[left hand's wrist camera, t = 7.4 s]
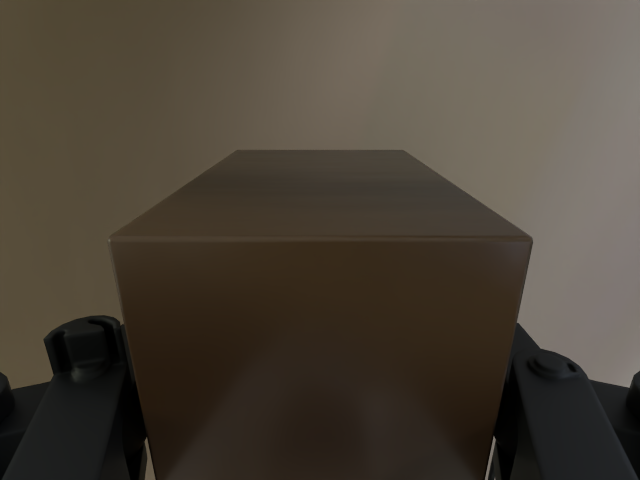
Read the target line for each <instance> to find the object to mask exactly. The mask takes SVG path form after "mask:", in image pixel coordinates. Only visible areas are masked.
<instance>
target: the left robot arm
mask: <svg viewBox="0 0 640 480" xmlns="http://www.w3.org/2000/svg"><path fill="white" fill-rule="evenodd" d="M44 343H45V346H46V350H47V353H48V357H49V360H50V363H51V367H52V370H53V374H54V376H53V378H52V380H51V381H50V382H46V383H42V384H37V385H32V386H27V387H22V388H17V389H12V390H11V387H10V384H9V381H8V379H7V377H6V376H5V375H4V374H2V373H1V372H0V480H145V472H146V464H147V453H146V447H145V442H144V441H145V439H146V437H147V434H146V429H145V424H144V419H143V414H142V409H141V404H140V399H139V395H138V390H137V385H136V380H135V375H134V370H133V365H132V360H131V355H130V350H129V345H128V340H127V335H126V330H125V325H124V324H122V325H121V326H120V322H119V321H118V320H117V319H115V318H114V317H110V316H104V315H102V316H89V317H84V318H80V319H76V320H73V321H70V322H68V323H65V324H63V325H61V326H59V327H58V328H56V329H54V330H53V331H51V332H50V333H49V334H48V335H47V336H46V337H45V338H44ZM494 437H495V439H496V442H495V447H494V452H493V456H492V461H491V466H490V471H489V476H488V480H494V478H495V479H496V480H640V371H639V372H638V373H636V374H635V375H634V377H633V380H632V383H631V385H630V388H627V387H622V386H617V385H612V384H607V383H603V382H598V381H593V380H590V379H588V377H587V375H586V374H585V372H584V371H583V370H582V369H581V367H580V366H579V365H577V364H576V363H574V362H573V361H572V360H570V359H569V358H567V357H564V356H562V355H560V354H558V353H555V352H552V351H548V350H544V349H540V348H539V346H538V345H537V344H536V343H535V342H534V341H533V339H532V338H531V337H530V336H529V335H528V334H527V332H526V331H525V330H524V329H523V328H522V327H521V326H520V324H519V323H516V328H515V333H514V338H513V343H512V348H511V353H510V358H509V362H508V367H507V372H506V377H505V382H504V387H503V392H502V397H501V402H500V407H499V412H498V417H497V422H496V426H495V431H494Z"/></svg>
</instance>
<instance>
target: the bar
mask: <svg viewBox="0 0 640 480" xmlns="http://www.w3.org/2000/svg"><path fill="white" fill-rule="evenodd" d="M532 244H533V240H532V237H531V236H530V235H528V234H527V233H525V232H524V231H522V230H521V229H519V228H518V227H516V226H515V225H513V224H512V223H510V222H509V221H507V220H506V219H504V218H503V217H502V216H500V215H499V214H497V213H496V212H494V211H493V210H491V209H490V208H488V207H487V206H485V205H484V204H482V203H481V202H479V201H478V200H476V199H475V198H473V197H472V196H470V195H469V194H467V193H466V192H465V191H463V190H462V189H460V188H459V187H457V186H456V185H454V184H453V183H451V182H450V181H448V180H447V179H445V178H444V177H442V176H441V175H439V174H438V173H436V172H435V171H433V170H432V169H431V168H429V167H428V166H426V165H425V164H423V163H422V162H420V161H419V160H417V159H416V158H414V157H413V156H411V155H410V154H408V153H407V152H405V151H404V150H237V151H235V152H233V153H232V154H230V155H229V156H228V157H226V158H225V159H223V160H222V161H220V162H219V163H217V164H216V165H214V166H213V167H211V168H210V169H208V170H207V171H205V172H204V173H202V174H201V175H199V176H198V177H196V178H195V179H194V180H192V181H191V182H189V183H188V184H186V185H185V186H183V187H182V188H180V189H179V190H177V191H176V192H174V193H173V194H171V195H170V196H168V197H167V198H165V199H164V200H163V201H161V202H160V203H158V204H157V205H155V206H154V207H152V208H151V209H149V210H148V211H146V212H145V213H143V214H142V215H140V216H139V217H137V218H136V219H134V220H133V221H132V222H130V223H129V224H127V225H126V226H124V227H123V228H121V229H120V230H118V231H117V232H115V233H114V234H112V235H111V236H109V238H108V246H109V251H110V256H111V261H112V266H113V271H114V276H115V281H116V286H117V291H118V296H119V301H120V306H121V310H122V315H123V320H124V325H125V330H126V335H127V340H128V345H129V350H130V355H131V360H132V365H133V370H134V375H135V380H136V385H137V390H138V395H139V399H140V404H141V409H142V414H143V419H144V424H145V429H146V434H147V439H148V444H149V449H150V454H151V459H152V464H153V469H154V474H155V479H156V480H485V476H486V471H487V466H488V461H489V456H490V451H491V446H492V441H493V436H494V431H495V426H496V422H497V417H498V412H499V407H500V402H501V397H502V392H503V387H504V382H505V377H506V372H507V367H508V362H509V358H510V353H511V348H512V343H513V338H514V333H515V328H516V323H517V318H518V313H519V308H520V303H521V298H522V294H523V289H524V284H525V279H526V274H527V269H528V264H529V259H530V254H531V249H532Z"/></svg>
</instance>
